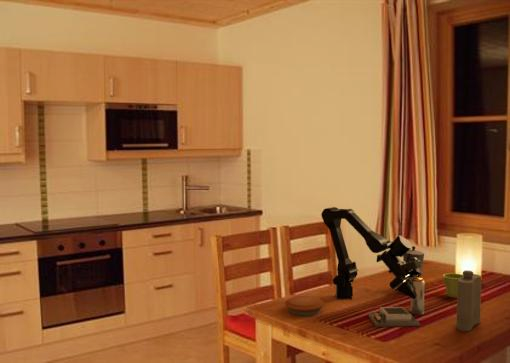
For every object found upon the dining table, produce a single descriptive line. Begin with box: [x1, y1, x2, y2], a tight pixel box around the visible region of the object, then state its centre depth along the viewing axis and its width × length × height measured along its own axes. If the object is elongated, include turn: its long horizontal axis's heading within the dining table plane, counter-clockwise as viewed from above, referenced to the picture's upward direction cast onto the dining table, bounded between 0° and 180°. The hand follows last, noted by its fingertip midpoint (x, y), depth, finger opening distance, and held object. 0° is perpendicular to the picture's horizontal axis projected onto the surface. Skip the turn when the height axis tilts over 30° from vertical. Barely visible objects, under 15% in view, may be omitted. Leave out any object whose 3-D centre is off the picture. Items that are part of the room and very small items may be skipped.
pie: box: [284, 295, 325, 317], centre depth 216 cm, size 16×16×5 cm
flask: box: [456, 270, 482, 333], centre depth 198 cm, size 15×6×20 cm, turn 141°
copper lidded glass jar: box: [410, 276, 426, 316], centre depth 212 cm, size 5×5×14 cm
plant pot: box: [442, 273, 463, 298], centre depth 235 cm, size 9×9×9 cm
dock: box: [368, 306, 421, 328], centre depth 204 cm, size 16×12×4 cm
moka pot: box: [402, 245, 425, 288], centre depth 242 cm, size 10×15×20 cm, turn 153°
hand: (420, 295), depth 212 cm, fingers open, 9 cm apart
